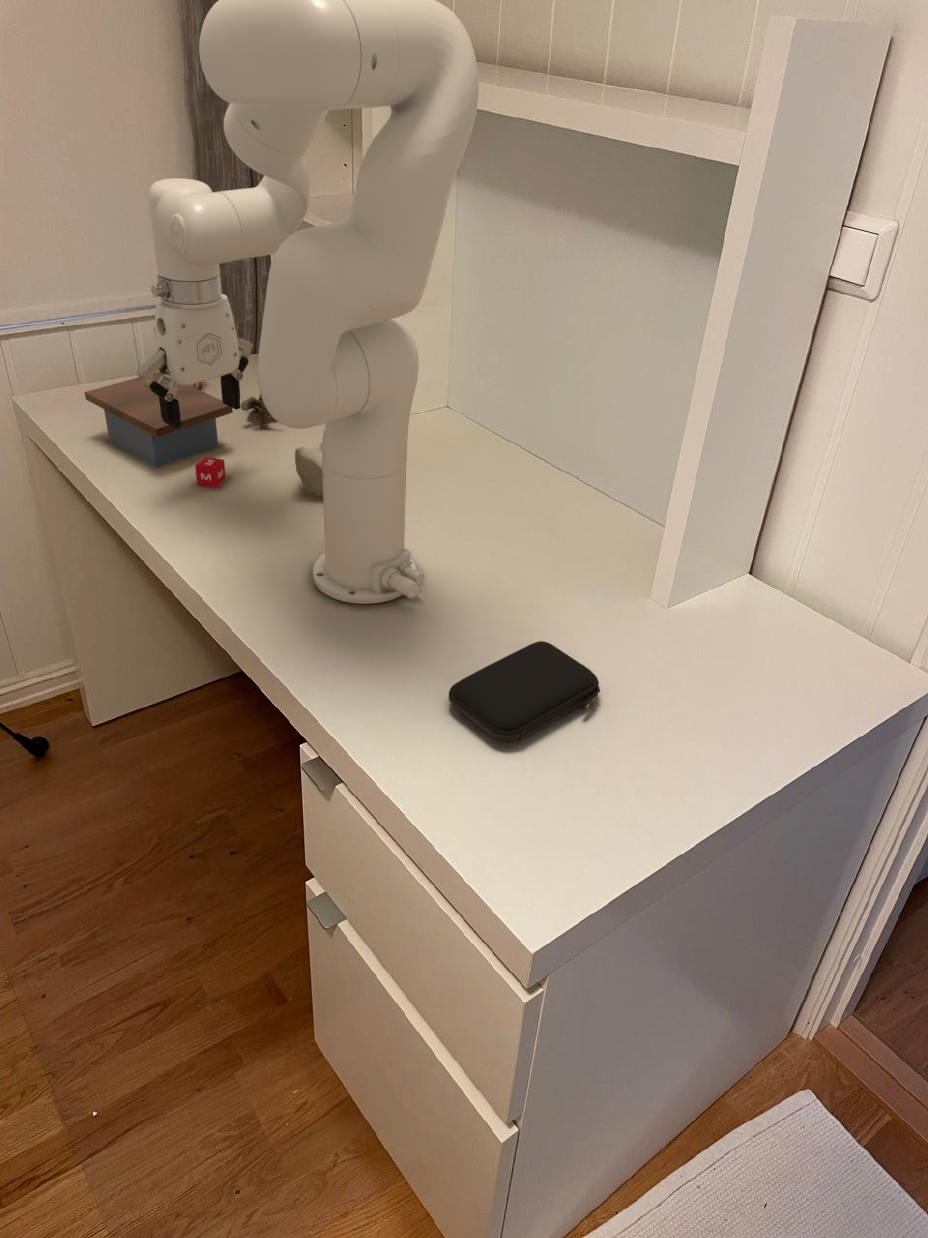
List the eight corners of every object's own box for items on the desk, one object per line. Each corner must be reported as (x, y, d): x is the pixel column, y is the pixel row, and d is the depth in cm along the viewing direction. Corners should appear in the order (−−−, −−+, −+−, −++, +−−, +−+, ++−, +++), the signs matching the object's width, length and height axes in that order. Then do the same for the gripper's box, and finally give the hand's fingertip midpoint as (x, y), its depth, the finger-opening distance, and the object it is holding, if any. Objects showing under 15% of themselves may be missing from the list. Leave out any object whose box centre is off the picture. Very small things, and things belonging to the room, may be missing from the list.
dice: (206, 475, 135) (204, 456, 133) (225, 478, 134) (224, 459, 133) (197, 484, 132) (194, 465, 131) (217, 487, 132) (215, 468, 130)
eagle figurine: (297, 422, 149) (299, 391, 155) (269, 389, 144) (272, 358, 150) (258, 444, 151) (261, 412, 157) (229, 412, 146) (234, 381, 152)
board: (232, 412, 139) (232, 404, 138) (156, 437, 130) (155, 429, 130) (160, 378, 148) (159, 371, 147) (85, 399, 140) (84, 391, 139)
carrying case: (511, 762, 90) (613, 701, 98) (514, 738, 88) (617, 678, 96) (439, 705, 96) (540, 652, 104) (440, 681, 94) (543, 630, 103)
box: (218, 445, 143) (214, 408, 140) (156, 467, 136) (150, 428, 133) (171, 421, 149) (166, 385, 146) (109, 441, 142) (102, 403, 139)
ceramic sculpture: (275, 424, 129) (364, 407, 138) (275, 481, 134) (362, 462, 143) (318, 452, 123) (409, 433, 131) (316, 512, 127) (404, 489, 136)
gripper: (148, 308, 111) (164, 442, 121) (264, 283, 122) (270, 407, 132) (111, 292, 114) (130, 423, 124) (227, 269, 125) (236, 391, 135)
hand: (202, 415), depth 128 cm, fingers open, 9 cm apart
